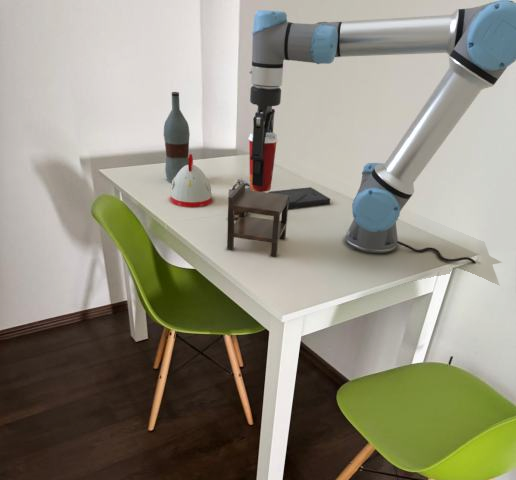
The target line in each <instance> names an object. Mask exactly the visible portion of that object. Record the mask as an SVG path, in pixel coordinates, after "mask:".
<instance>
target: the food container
mask: <svg viewBox="0 0 516 480" xmlns="http://www.w3.org/2000/svg"><path fill="white" fill-rule="evenodd" d="M236 179H237V181H236V183H235V184H233V185H232V187H231V188H230V189H228V194H227V195H228V197H229V196H230V195H231V194H232V193H233V192H234V190H235V189H236V188H237V187H238V186H239V185H240V184H241V183H242V182H244V183H245V190H251V189H250V181H249V180H246V179H242V178H236ZM239 215H240V212H239V211H235V219H234V221H237V220H238V218H239ZM246 216H249V213H246Z"/></svg>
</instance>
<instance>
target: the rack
mask: <svg viewBox="0 0 516 480" xmlns="http://www.w3.org/2000/svg"><path fill="white" fill-rule="evenodd" d="M288 204H289V195H282V194H275V193H268V191H266V192H258V191H253V190H245V183H244V182H242V183H241V184H240V185H239V186H238V187H237V188H236V189H235V190H234V192H233V193H232V194H231V195H230V196H228V198H227V234H226V235H227V239H226V240H227V242H226V243H227V244H226V248H227V249H226V250H227V251H233V250H234V249H235V248H234V247H235V239H236V238H237V239H242V240H249V241H255V242H263V243H269V244H270V245H271V247H270V257H272V258H277V255H278V248H279V247H278V245H279V241H281V240H282V241H285V239H286V235H287V224H288V214H289V213H288V212H289V209H288ZM235 211H239V212H240V215H239V218H238V220H234V219H235ZM246 213H248V214H255V215H262V216H268V217H273V219H271V218H263V217H257V216H251V215H250V216H249V215H248V216H246Z"/></svg>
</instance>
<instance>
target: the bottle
mask: <svg viewBox="0 0 516 480" xmlns="http://www.w3.org/2000/svg"><path fill="white" fill-rule="evenodd" d="M170 94H171V109H170V112H169V114H168V116H167V118H166V120H165V121H164V125H163V140H164V146H165V148H164V149H165V156H166V157H165V166H164V167H165V170H164V171H165V176H166V180H167V181H168V182H169V183H171V184H172V180H173V179H174V177H176V175H177V173H178V172H179V171H180V170H181V169H182V168H183V167H184V166H186V165H188V163H189V152H190V149H189V148H190V137H191V136H190V134H191V133H190V127H189V123H188V121H187V119H186V118H185V116H184V114H183V112H182V111H181V107H180V92H179V91H172V92H170Z"/></svg>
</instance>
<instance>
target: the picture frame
mask: <svg viewBox="0 0 516 480" xmlns="http://www.w3.org/2000/svg"><path fill="white" fill-rule="evenodd" d="M267 193H275V194H282V195H289V204H288V210H292V209H293V210H295V209H301V208H309V207H316V206H317V207H318V206H325V205H331V198H330V197H328V196H326V195H325V194H323V193H322V192H320V191H318V190H316V189H315V188H312V187H311V186H309V187H299V188H290V189H289V188H288V189H281V190H269V191H267Z"/></svg>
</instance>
